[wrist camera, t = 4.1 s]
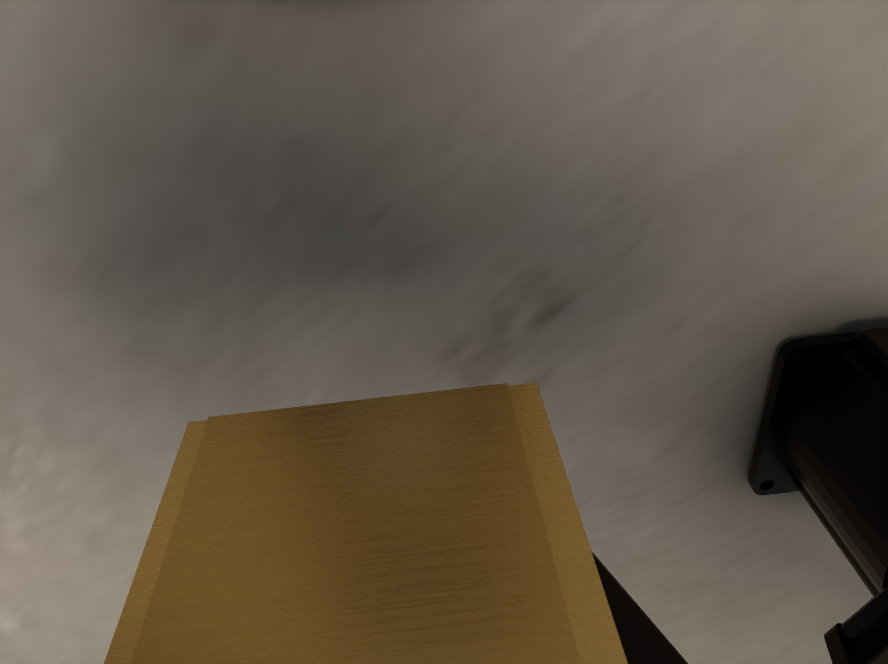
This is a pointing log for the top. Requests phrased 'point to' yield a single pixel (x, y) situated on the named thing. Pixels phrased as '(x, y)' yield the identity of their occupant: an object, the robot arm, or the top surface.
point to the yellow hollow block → (370, 540)
